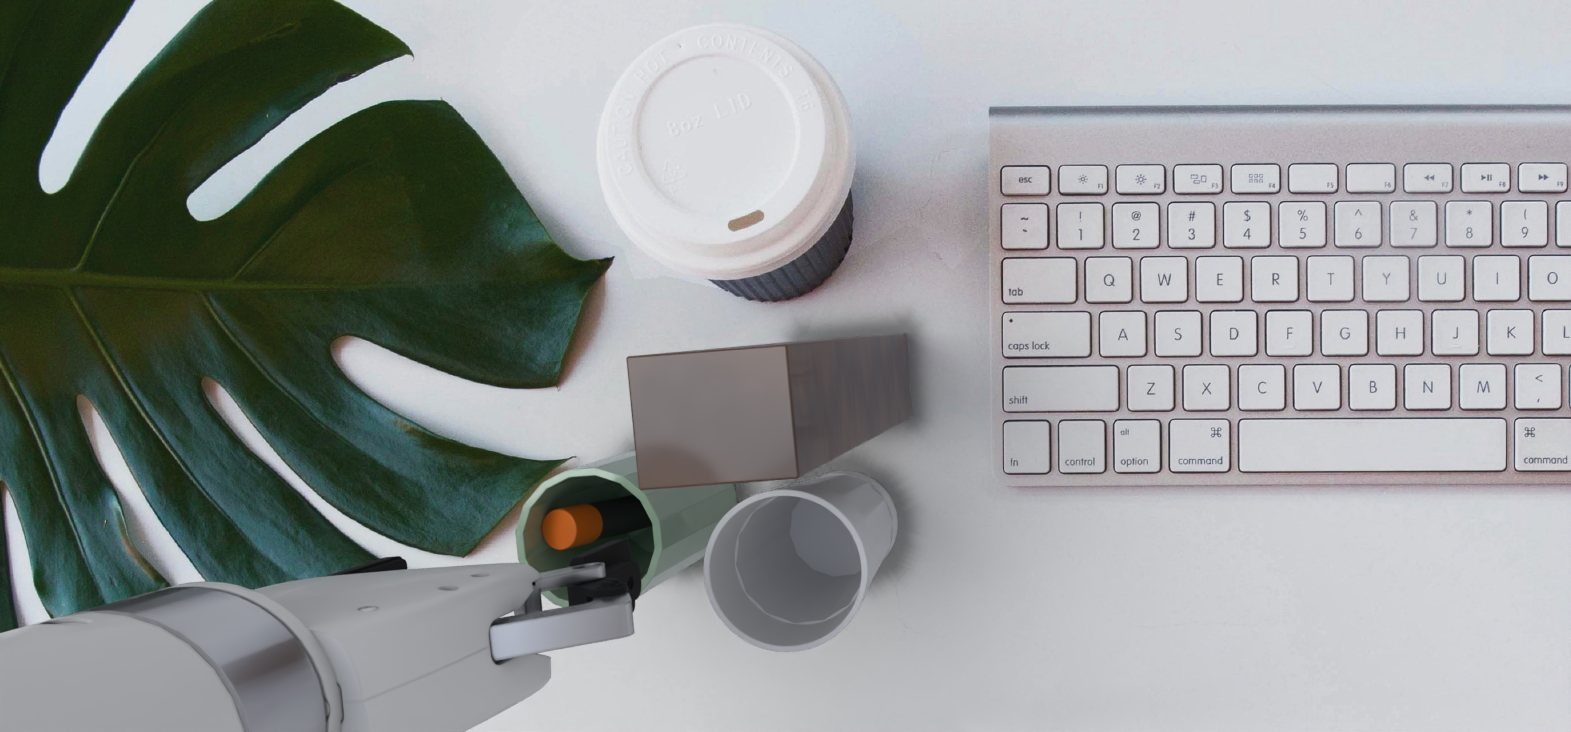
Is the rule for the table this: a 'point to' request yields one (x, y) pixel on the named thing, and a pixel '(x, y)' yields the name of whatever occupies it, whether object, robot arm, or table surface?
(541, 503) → the glass
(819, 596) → the cup
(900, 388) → the stand
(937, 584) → the table surface
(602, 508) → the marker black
